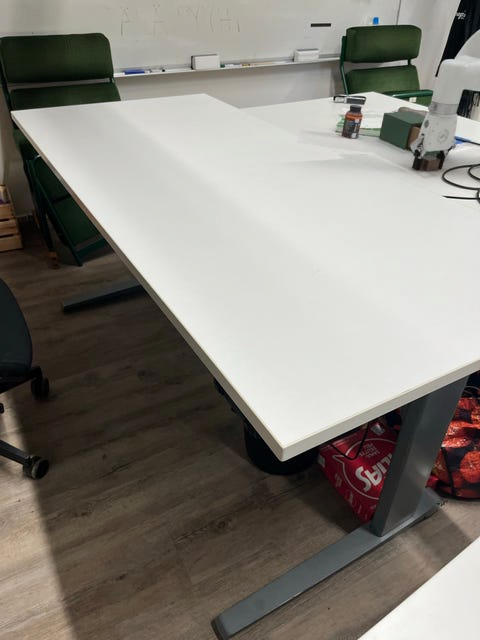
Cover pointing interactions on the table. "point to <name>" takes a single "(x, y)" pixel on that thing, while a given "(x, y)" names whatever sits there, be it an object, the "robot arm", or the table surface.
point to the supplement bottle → (352, 122)
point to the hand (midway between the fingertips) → (426, 168)
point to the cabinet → (399, 127)
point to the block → (430, 163)
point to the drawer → (414, 135)
